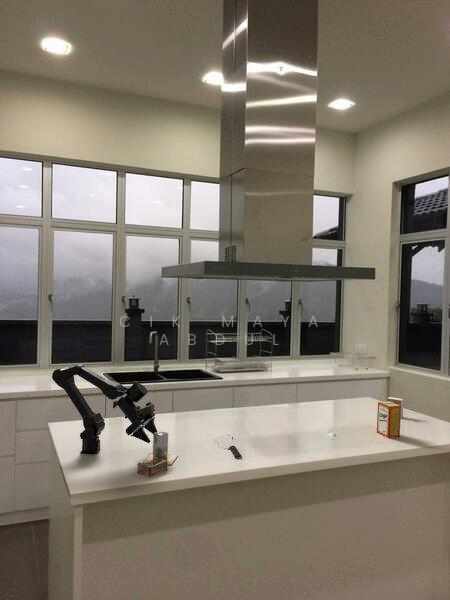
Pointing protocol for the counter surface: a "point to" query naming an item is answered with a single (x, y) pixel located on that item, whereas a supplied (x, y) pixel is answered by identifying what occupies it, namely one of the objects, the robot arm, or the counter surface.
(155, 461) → the cubby
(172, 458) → the mat
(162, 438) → the canister
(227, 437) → the kitchen cleaver
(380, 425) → the baking soda box
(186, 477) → the counter surface
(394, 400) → the small box
